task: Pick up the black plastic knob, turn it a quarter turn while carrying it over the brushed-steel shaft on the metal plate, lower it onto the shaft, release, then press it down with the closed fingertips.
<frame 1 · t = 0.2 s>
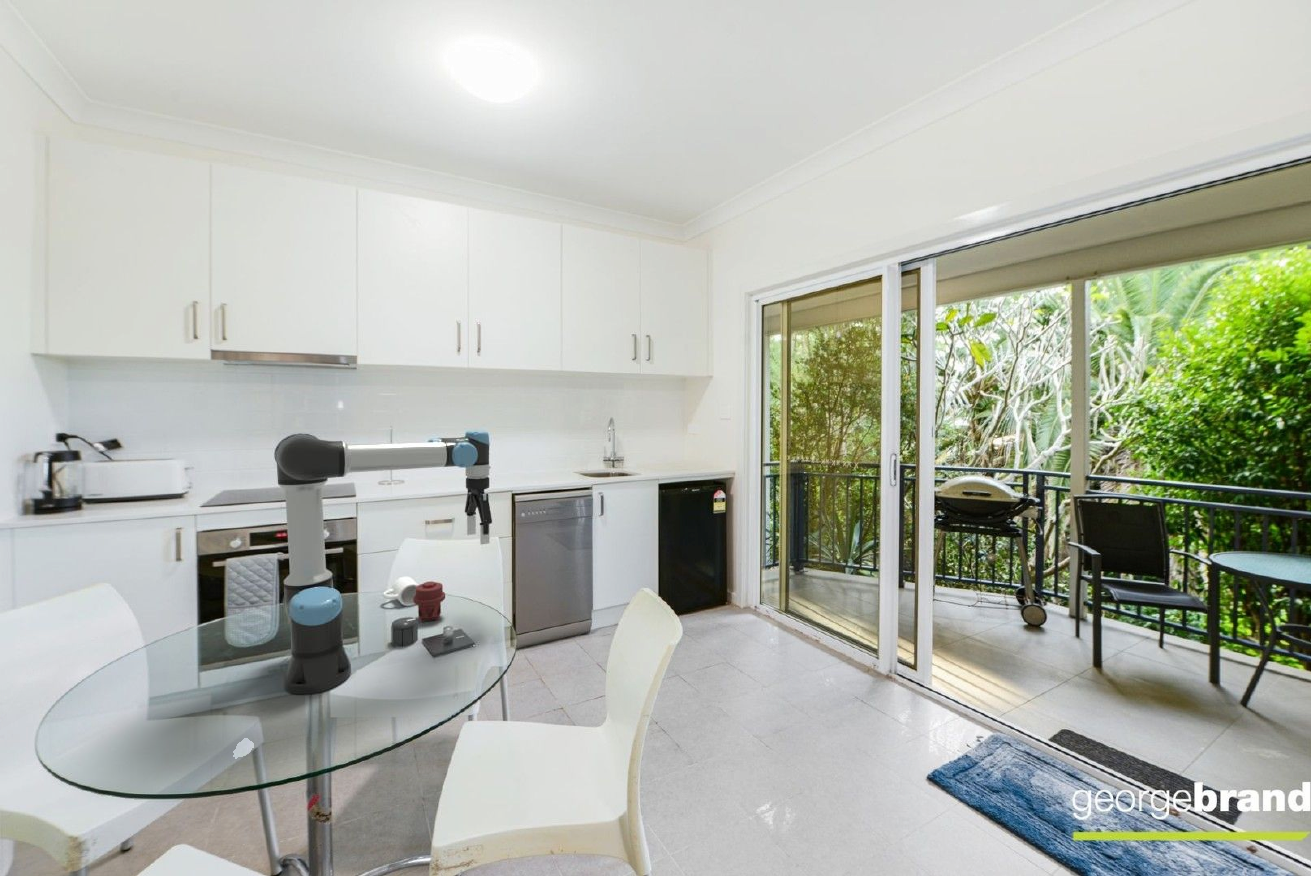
hand: (478, 538, 183), 27 cm above the table, fingers open, 13 cm apart
mechanical component: (429, 619, 183), on the table
mug: (401, 603, 196), on the table
metal plate: (448, 643, 166), on the table
knob: (404, 640, 167), on the table
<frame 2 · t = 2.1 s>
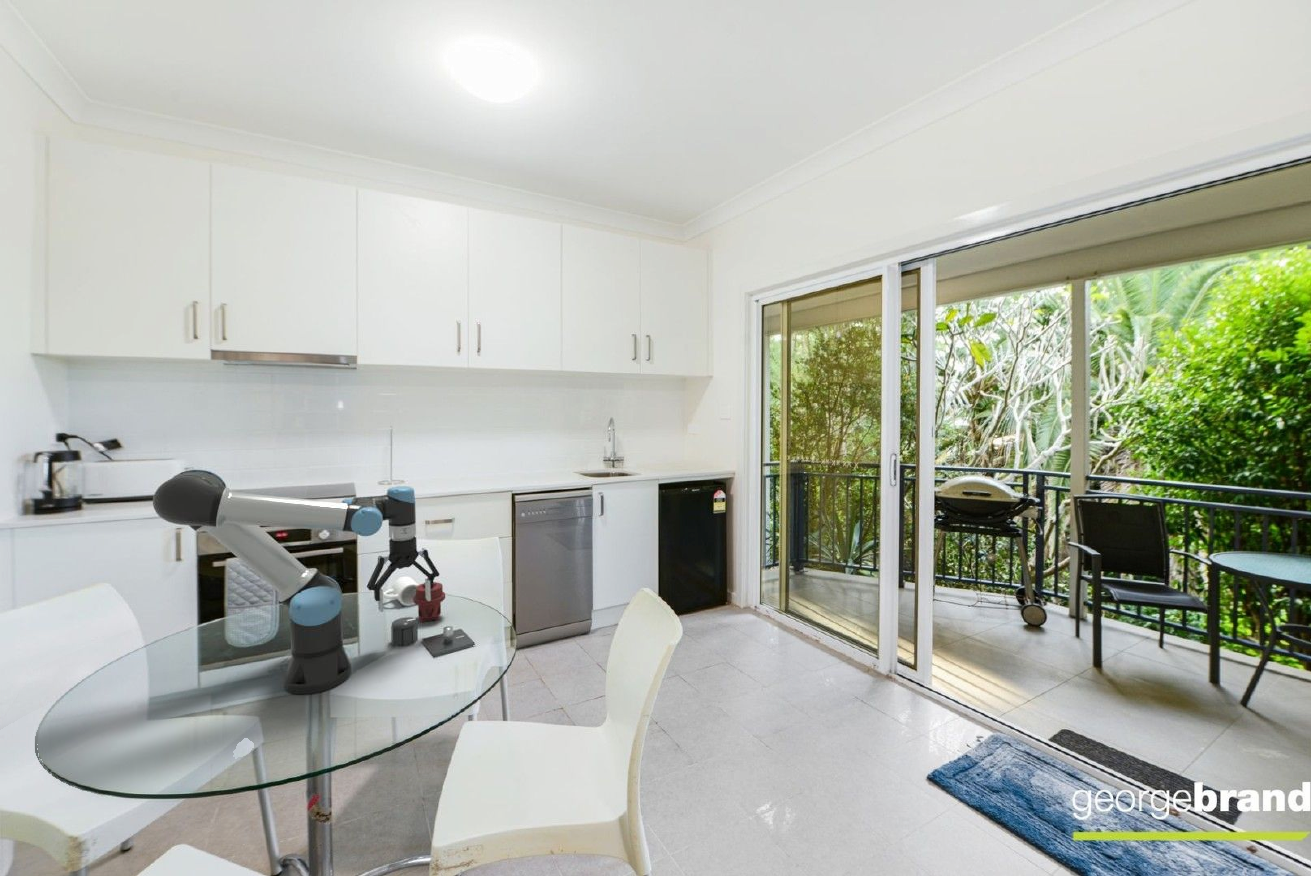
hand: (405, 604, 166), 11 cm above the table, fingers open, 13 cm apart
nothing on the table moved.
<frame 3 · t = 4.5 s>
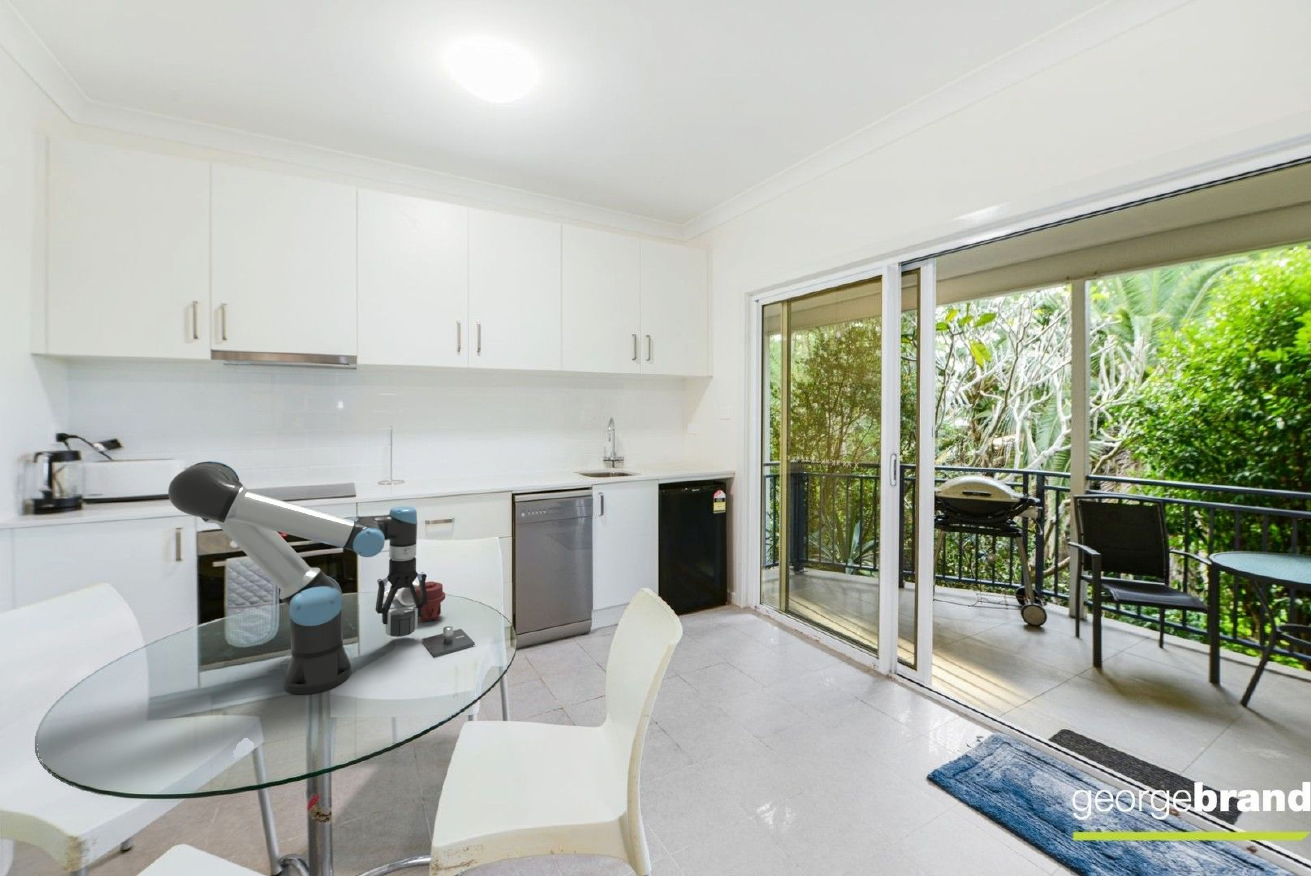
hand: (401, 630, 166), 3 cm above the table, fingers closed on knob, 7 cm apart
knob: (401, 631, 166), point 3 cm above the table, touching gripper
everything else where it was.
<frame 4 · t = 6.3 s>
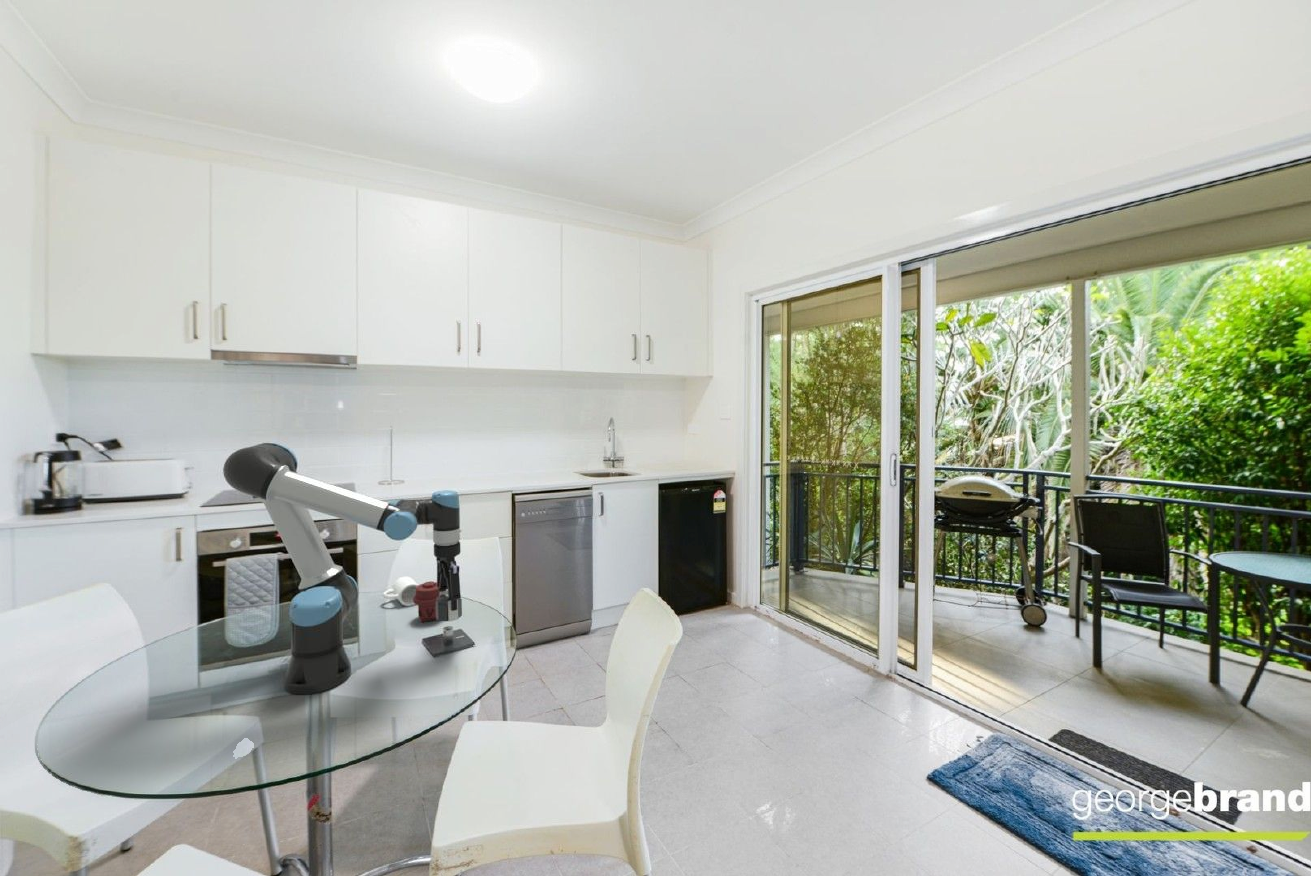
hand: (449, 615, 165), 9 cm above the table, fingers closed on knob, 7 cm apart
knob: (449, 616, 165), point 9 cm above the table, touching gripper
everything else where it was.
when the fingers open (2 cm above the table, at t = 7.8 s): knob stays where it is, resting on metal plate.
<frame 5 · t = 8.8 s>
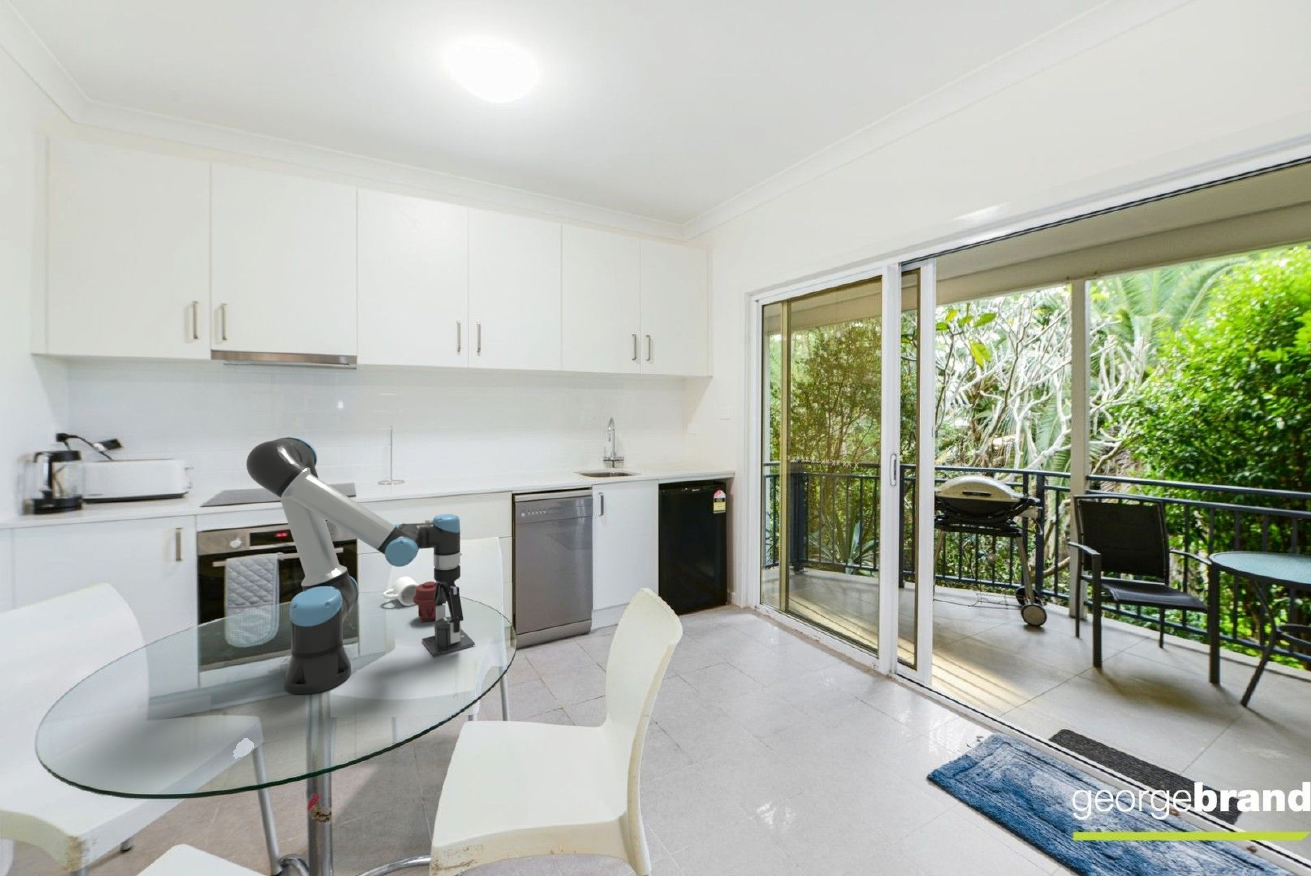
hand: (447, 633, 165), 3 cm above the table, fingers open, 13 cm apart
knob: (448, 640, 166), point 1 cm above the table, touching metal plate
everything else where it was.
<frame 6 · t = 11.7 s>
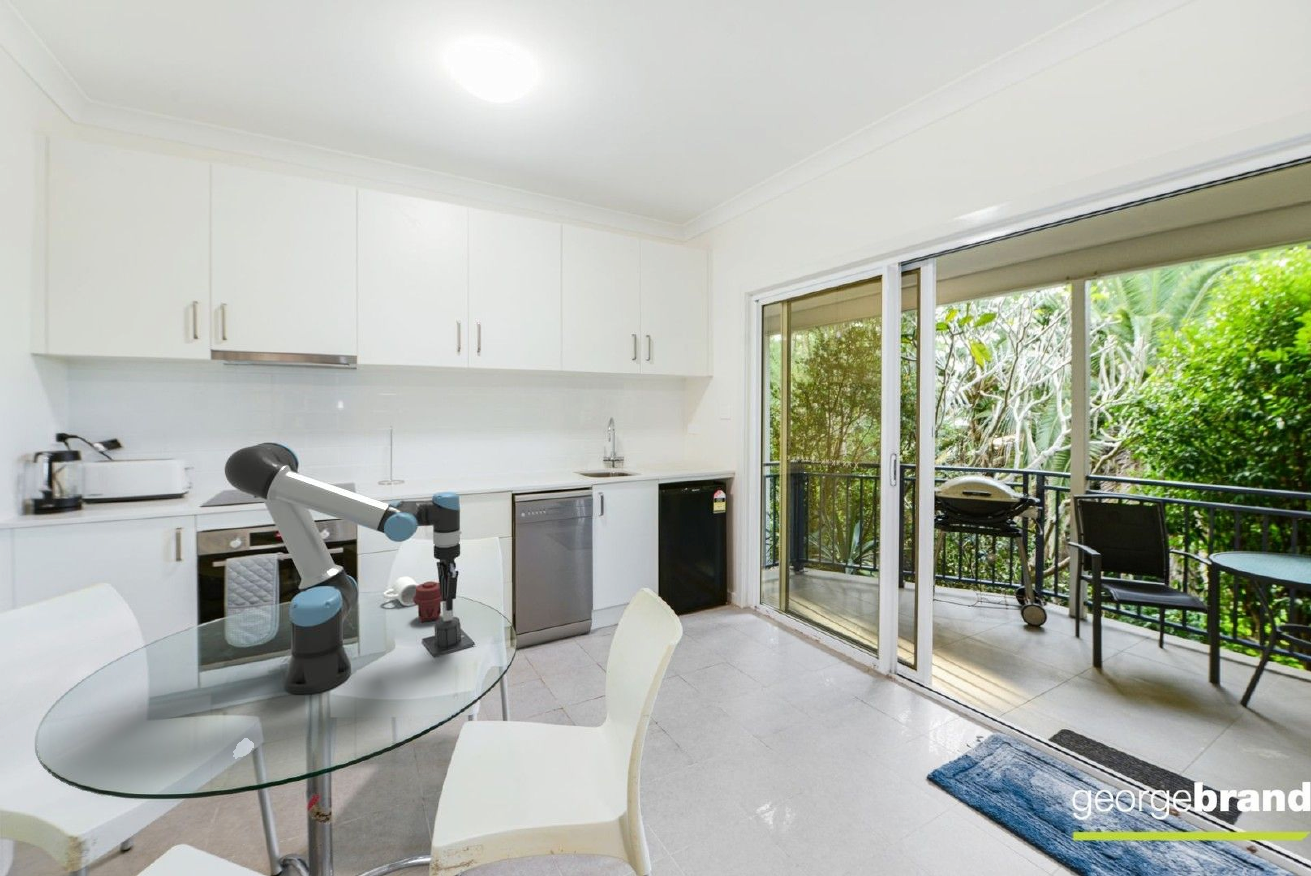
hand: (448, 619, 165), 8 cm above the table, fingers closed
nothing on the table moved.
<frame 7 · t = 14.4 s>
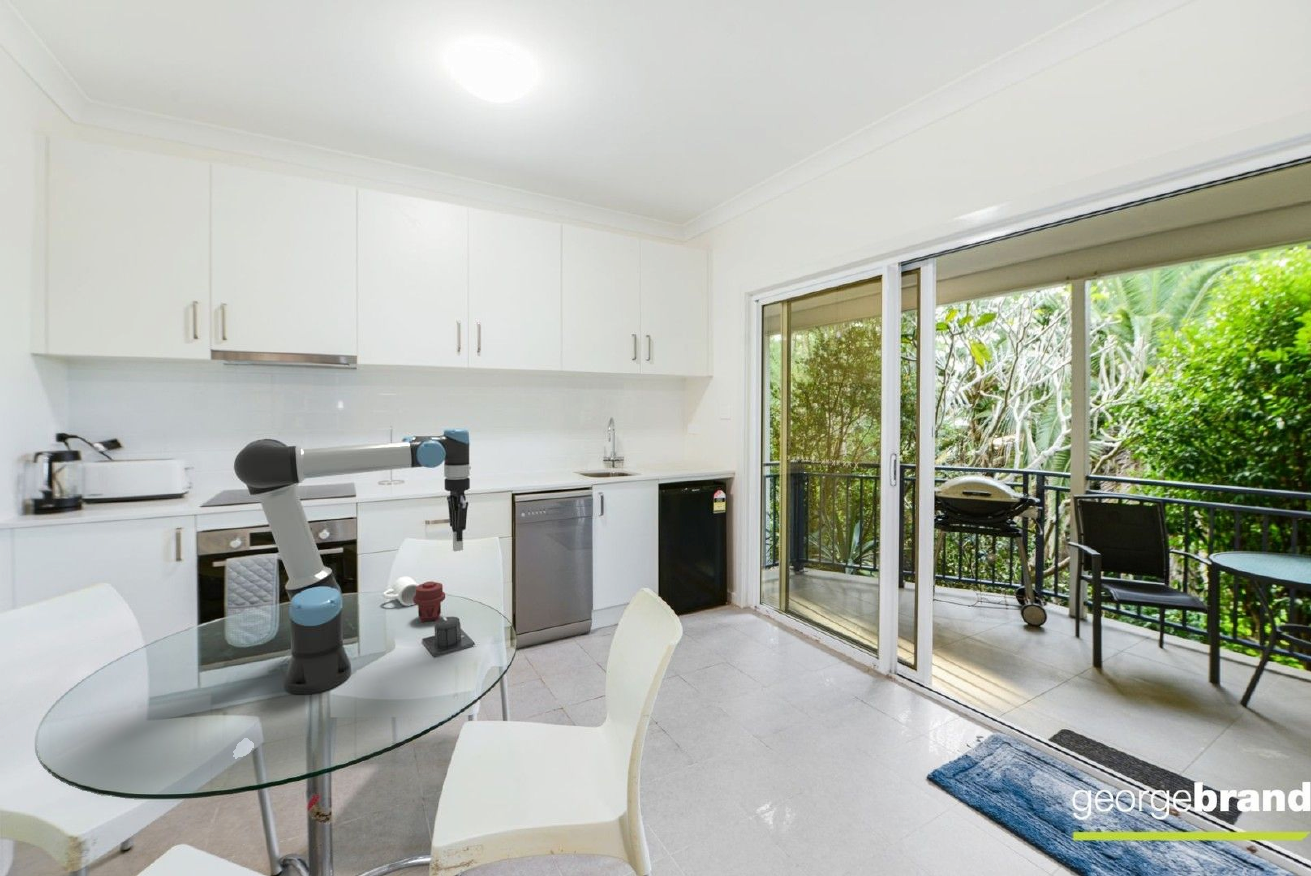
hand: (458, 550, 173), 26 cm above the table, fingers closed
nothing on the table moved.
at the end: knob 0.0 cm off-centre on the metal plate, point 1.1 cm above the metal plate's base; knob tilted 2°; the gripper is holding nothing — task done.
